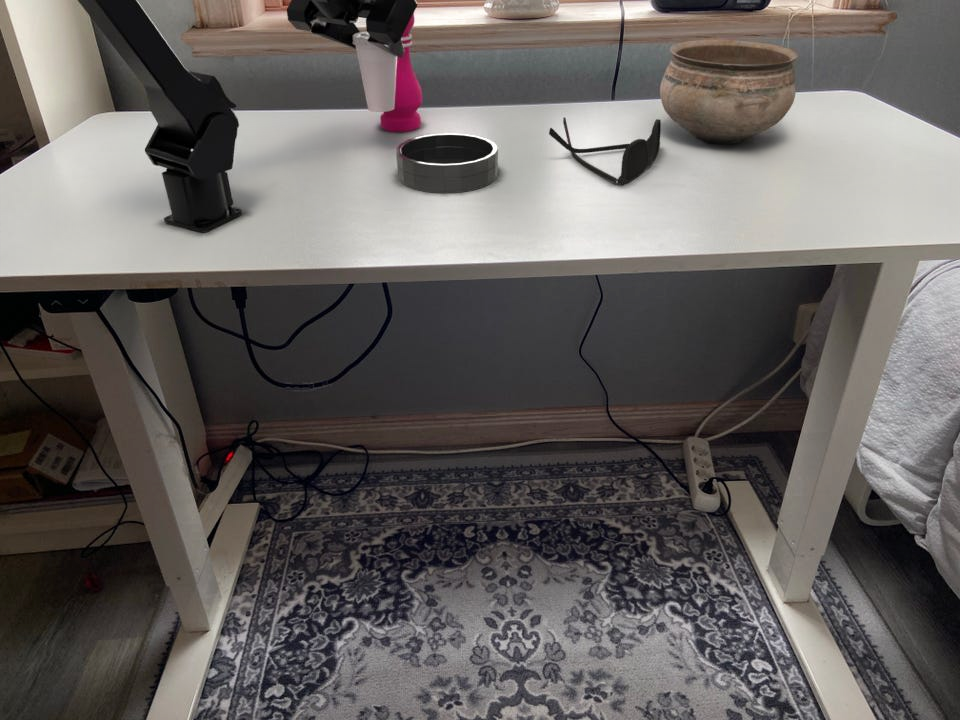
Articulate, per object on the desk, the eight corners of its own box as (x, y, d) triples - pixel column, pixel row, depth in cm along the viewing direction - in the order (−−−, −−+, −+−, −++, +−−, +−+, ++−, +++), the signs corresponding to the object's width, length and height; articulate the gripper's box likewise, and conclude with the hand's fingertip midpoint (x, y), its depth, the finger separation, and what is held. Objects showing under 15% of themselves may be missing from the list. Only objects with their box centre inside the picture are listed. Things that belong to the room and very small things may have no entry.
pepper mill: (432, 124, 120) (427, -15, 109) (405, 135, 115) (396, -9, 104) (396, 117, 123) (387, -18, 112) (368, 128, 118) (356, -12, 107)
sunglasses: (574, 137, 114) (576, 103, 111) (667, 150, 108) (672, 115, 105) (528, 171, 101) (529, 134, 99) (631, 188, 96) (635, 149, 93)
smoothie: (399, 115, 103) (393, 2, 95) (353, 114, 103) (343, 2, 96) (407, 103, 108) (401, -4, 101) (363, 102, 109) (354, -5, 101)
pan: (466, 199, 93) (466, 171, 91) (378, 182, 98) (376, 155, 96) (513, 167, 102) (514, 141, 100) (431, 153, 108) (430, 128, 106)
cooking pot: (818, 161, 104) (841, 69, 97) (685, 167, 102) (699, 73, 95) (745, 112, 124) (760, 33, 118) (634, 116, 123) (642, 36, 116)
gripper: (402, -87, 85) (463, 7, 99) (291, -91, 95) (360, -4, 108) (360, -4, 84) (427, 80, 98) (251, -16, 94) (326, 63, 107)
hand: (384, 52), depth 103 cm, fingers closed on smoothie, 6 cm apart
